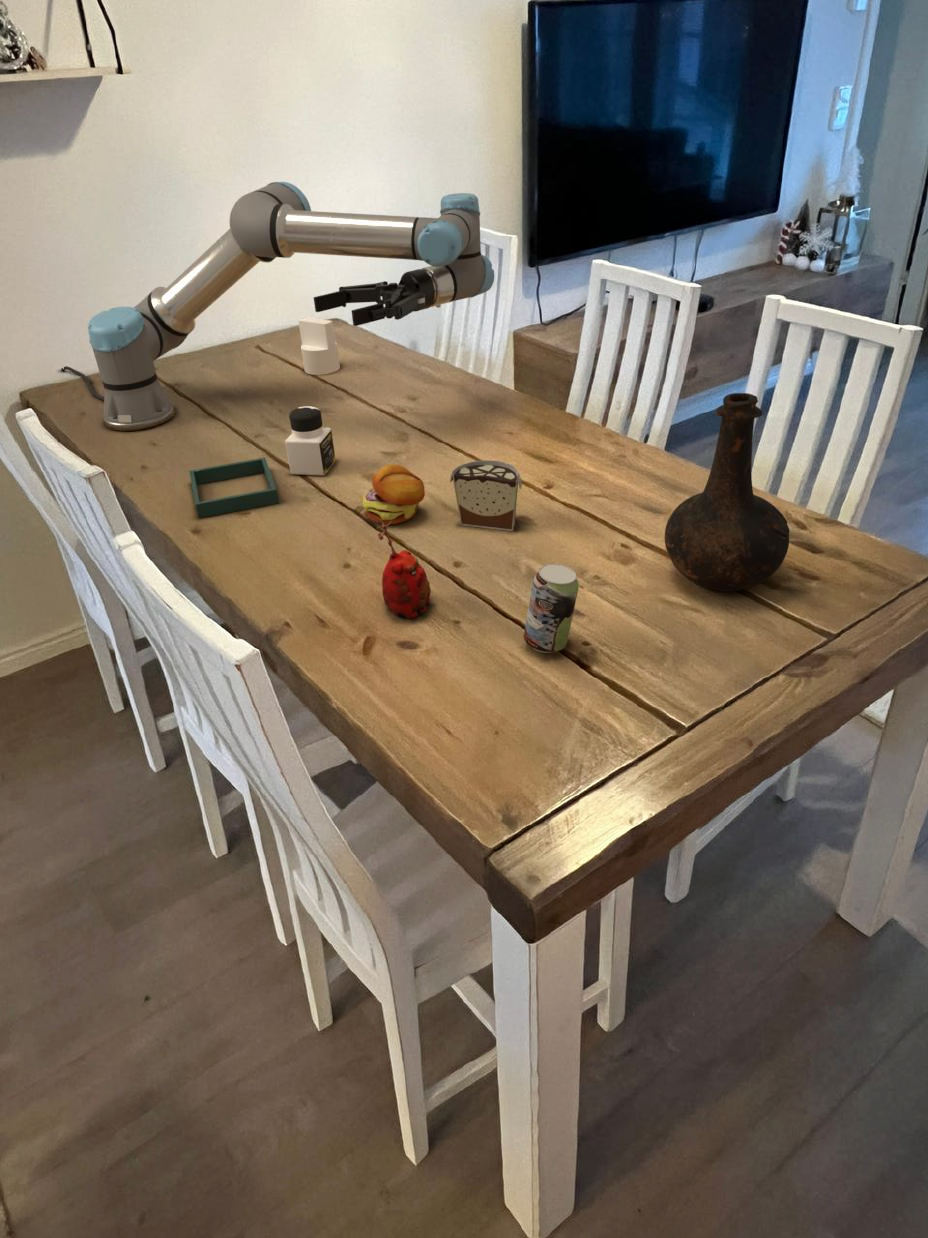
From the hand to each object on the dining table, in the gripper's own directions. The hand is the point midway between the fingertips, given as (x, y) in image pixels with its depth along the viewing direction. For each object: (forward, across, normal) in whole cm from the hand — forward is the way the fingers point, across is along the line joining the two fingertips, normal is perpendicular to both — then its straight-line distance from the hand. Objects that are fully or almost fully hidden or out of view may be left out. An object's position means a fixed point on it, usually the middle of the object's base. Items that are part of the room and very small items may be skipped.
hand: (333, 311), depth 169 cm
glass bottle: (-15, -81, -28) cm, 87 cm away
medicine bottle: (+10, -2, -28) cm, 30 cm away
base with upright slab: (-22, +50, -28) cm, 61 cm away
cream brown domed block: (-1, -43, -28) cm, 51 cm away
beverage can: (+16, -77, -28) cm, 84 cm away
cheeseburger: (+10, -29, -28) cm, 42 cm away
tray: (+27, -1, -28) cm, 39 cm away
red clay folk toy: (+25, -56, -28) cm, 67 cm away
